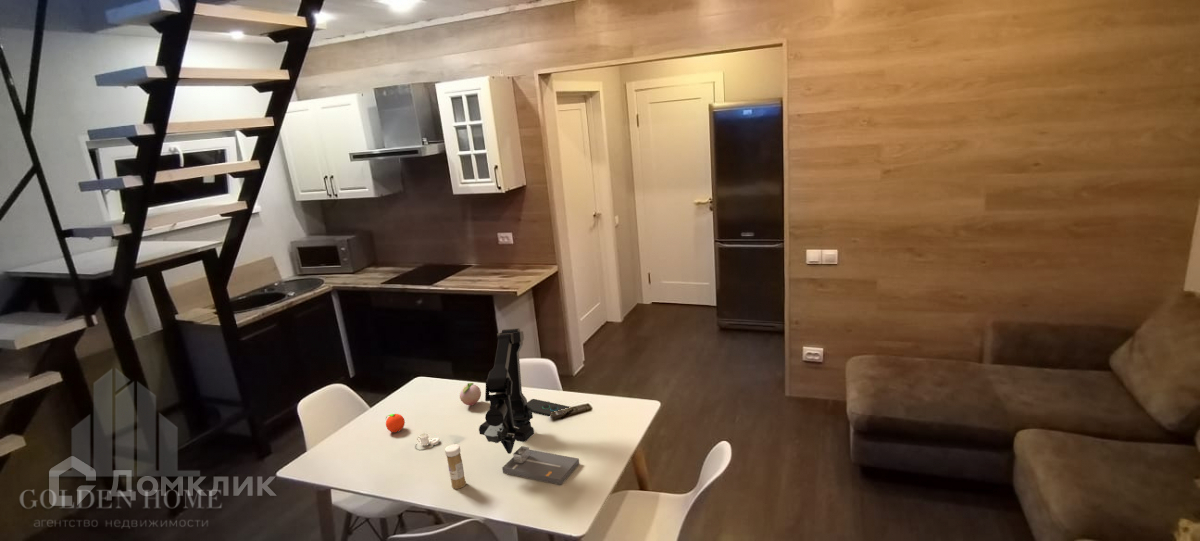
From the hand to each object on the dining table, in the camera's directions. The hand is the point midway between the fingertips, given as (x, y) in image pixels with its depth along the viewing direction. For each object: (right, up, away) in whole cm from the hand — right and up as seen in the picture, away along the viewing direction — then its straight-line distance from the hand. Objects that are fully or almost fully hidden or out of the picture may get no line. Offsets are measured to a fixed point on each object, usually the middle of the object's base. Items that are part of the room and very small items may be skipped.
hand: (509, 453), depth 193 cm
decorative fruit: (-23, +5, +46) cm, 52 cm away
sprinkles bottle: (-15, -8, -9) cm, 19 cm away
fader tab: (+5, -1, -2) cm, 5 cm away
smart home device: (+9, +5, +36) cm, 37 cm away
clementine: (-49, -2, +32) cm, 59 cm away
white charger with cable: (-32, -4, +16) cm, 36 cm away
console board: (+11, -4, -4) cm, 12 cm away
